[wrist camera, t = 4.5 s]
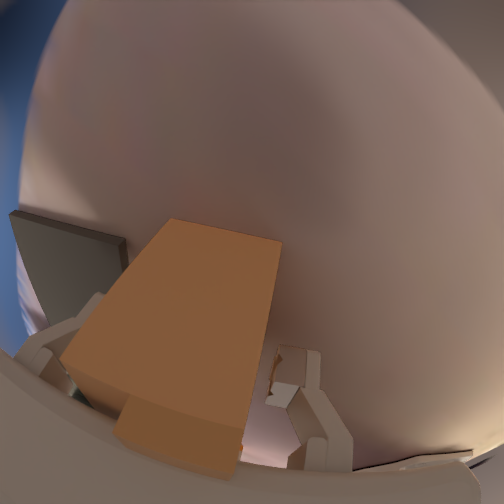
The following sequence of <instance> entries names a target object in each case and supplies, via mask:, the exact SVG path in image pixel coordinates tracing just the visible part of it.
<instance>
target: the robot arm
mask: <svg viewBox="0 0 504 504" xmlns="http://www.w3.org/2000/svg"><path fill="white" fill-rule="evenodd" d="M105 295H106V294H103V293H100V292H97V293H95V294H94V295H93V296H92V298H91V299H90V300H89V301H88V303H87V304H86V305H85V306H84V308H83V309H82V310H81V311H80V313H79V314H78V315H77V316H76V318H74V317H71V318H69V319H67V320H65V321H62V322H60V323H58V324H56V325H53V326H51V327H49V328H47V329H44V330H42V331H40V332H38V333H35V334H33V335H31V336H29V337H28V339H27V340H26V341H25V343H24V344H23V345H22V347H21V348H20V349H19V351H18V352H17V353H16V355H15V356H14V358H12V357H11V356H10V355H9V354H7V353H6V352H5V351H4V350H2V349H1V348H0V504H481V489H480V484H479V481H478V480H477V478H476V477H475V475H474V474H473V473H472V472H471V470H470V469H469V468H468V467H467V465H466V464H465V463H464V462H466V461H467V460H469V459H470V458H471V457H472V456H473V451H468V452H460V453H451V454H440V455H422V456H417V457H413V458H410V459H406V460H403V461H400V462H397V463H392V464H388V465H382V466H377V467H372V468H367V469H363V470H358V471H354V472H352V465H353V438H352V436H351V435H350V433H349V431H348V430H347V428H346V426H345V425H344V423H343V422H342V420H341V418H340V417H339V415H338V413H337V412H336V410H335V409H334V407H333V405H332V404H331V402H330V400H329V399H328V397H327V396H326V394H325V392H324V391H323V390H320V369H321V353H320V352H319V351H314V350H308V349H304V348H299V347H293V346H288V345H283V344H280V345H279V347H278V349H277V354H276V356H275V357H274V360H273V363H272V367H271V371H270V376H269V380H270V383H269V386H268V388H267V392H266V398H265V404H267V405H272V406H276V407H281V408H286V410H287V413H288V415H289V417H290V420H291V422H292V424H293V427H294V429H295V431H296V433H297V436H298V438H299V440H300V442H301V445H302V446H300V447H299V448H298V449H297V450H296V451H294V452H293V453H292V454H291V455H290V456H289V457H288V463H287V468H278V467H271V466H265V465H259V464H253V463H248V462H243V461H238V460H237V463H236V467H235V471H234V474H233V476H232V477H231V479H230V480H229V481H226V480H221V479H217V478H213V477H209V476H205V475H202V474H198V473H194V472H191V471H188V470H184V469H181V468H178V467H175V466H172V465H169V464H166V463H163V462H160V461H158V460H155V459H152V458H150V457H147V456H145V455H142V454H140V453H137V452H135V451H132V450H130V449H128V448H126V447H125V446H124V445H123V444H122V443H121V442H120V441H119V440H118V439H117V438H116V437H115V436H114V435H113V434H112V431H113V429H114V427H115V425H116V423H117V420H115V419H112V418H110V417H108V416H106V415H104V414H102V413H100V412H98V411H96V410H94V409H92V408H90V407H88V406H87V405H85V404H83V403H81V402H79V401H77V400H76V399H74V398H72V397H70V396H69V395H68V394H69V392H70V390H71V389H72V387H73V382H72V381H71V380H70V378H69V377H68V375H67V374H68V372H67V371H66V369H65V367H64V366H63V364H62V363H61V361H60V360H59V358H60V357H61V355H62V354H63V352H64V351H65V349H66V348H67V346H68V345H69V343H70V342H71V341H72V339H73V338H74V336H75V335H76V334H77V332H78V331H79V329H80V328H81V327H82V325H83V324H84V322H85V321H86V320H87V318H88V317H89V316H90V314H91V313H92V312H93V310H94V309H95V308H96V306H97V305H98V304H99V303H100V301H101V300H102V299H103V297H104V296H105Z"/></svg>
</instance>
